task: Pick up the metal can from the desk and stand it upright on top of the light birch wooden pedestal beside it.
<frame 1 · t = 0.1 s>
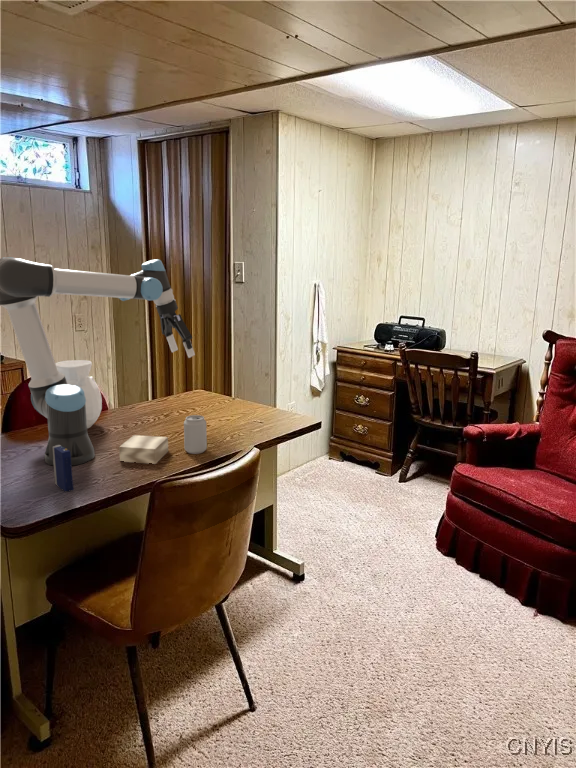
hand: (183, 353, 218), 28 cm above the table, tool tilted 20°, fingers open, 13 cm apart
pedestal: (144, 456, 188), on the table
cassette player: (64, 488, 163), on the table
pitcher: (78, 427, 218), on the table
can: (195, 451, 194), on the table
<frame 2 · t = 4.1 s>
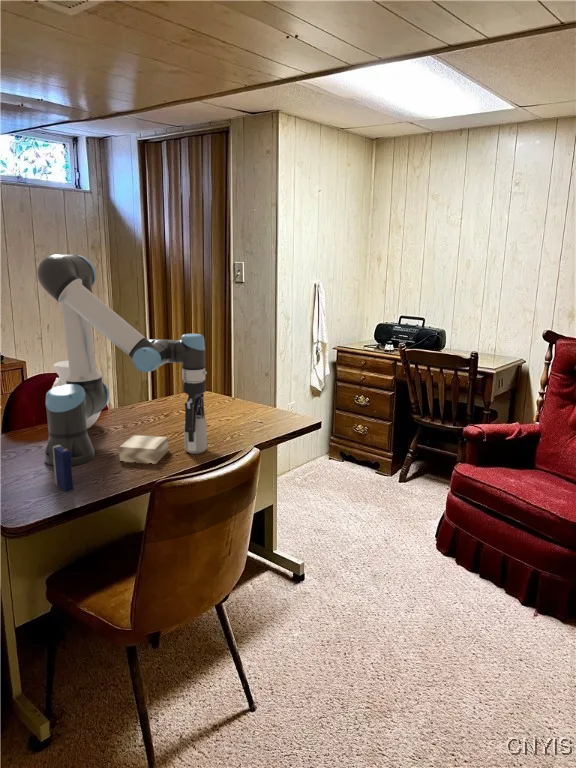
hand: (195, 446, 193), 2 cm above the table, tool pointing down, fingers closed on can, 7 cm apart
can: (195, 451, 194), on the table, touching gripper
everything else where it was.
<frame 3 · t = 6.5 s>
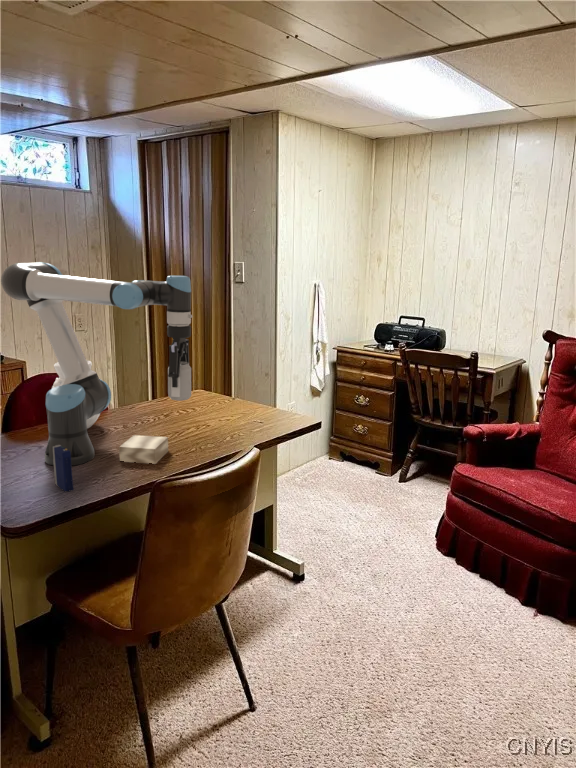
hand: (179, 393, 188), 20 cm above the table, tool pointing down, fingers closed on can, 7 cm apart
can: (179, 398, 188), point 19 cm above the table, touching gripper
everything else where it was.
when the fingers open (8 cm above the table, at t = 9.3 s): can drops 1 cm, resting on pedestal.
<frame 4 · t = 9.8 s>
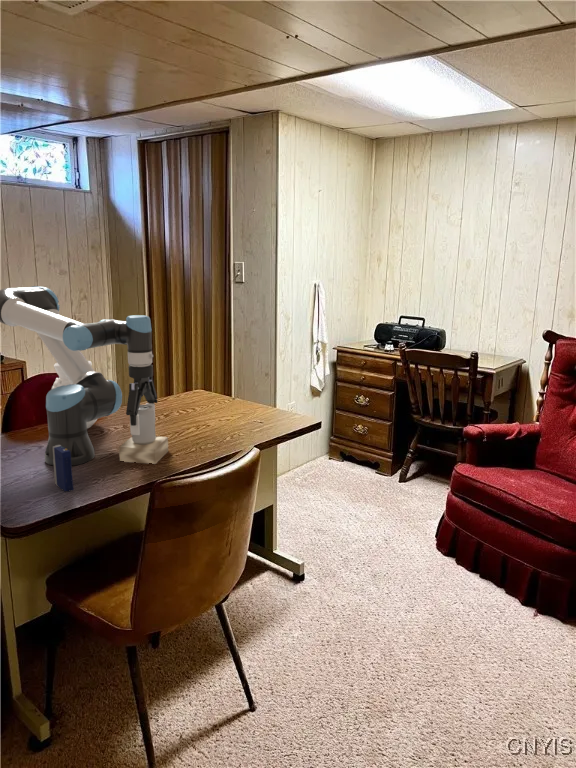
hand: (143, 428, 186), 10 cm above the table, tool pointing down, fingers open, 13 cm apart
can: (144, 442, 187), point 5 cm above the table, touching pedestal
everything else where it was.
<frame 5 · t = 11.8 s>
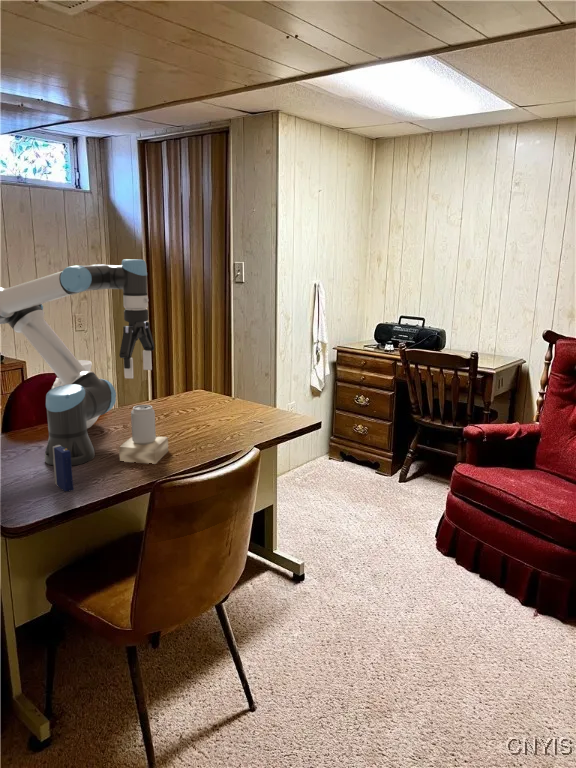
hand: (138, 373, 186), 27 cm above the table, tool pointing down, fingers open, 13 cm apart
nothing on the table moved.
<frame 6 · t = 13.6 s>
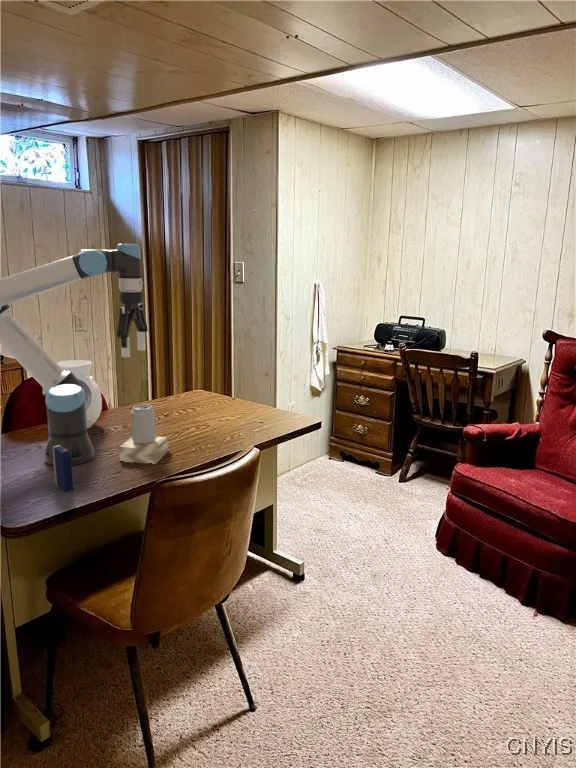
hand: (134, 353, 195), 32 cm above the table, tool pointing down, fingers open, 13 cm apart
nothing on the table moved.
at the end: can inside the target area on the pedestal (0.1 cm from its centre), point 4.8 cm above the pedestal's base; can tilted 0°; the gripper is holding nothing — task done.
